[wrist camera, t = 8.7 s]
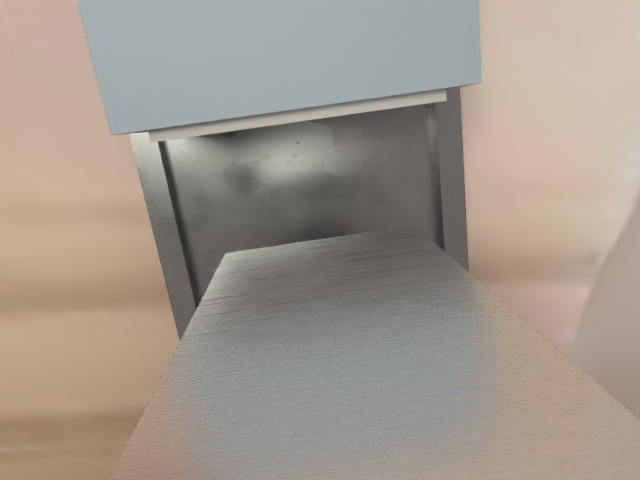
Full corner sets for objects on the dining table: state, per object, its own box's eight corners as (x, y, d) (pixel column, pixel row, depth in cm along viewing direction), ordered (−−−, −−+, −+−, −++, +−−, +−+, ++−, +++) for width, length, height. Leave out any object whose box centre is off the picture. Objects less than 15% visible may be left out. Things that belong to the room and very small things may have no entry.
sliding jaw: (171, 138, 21) (114, 147, 14) (132, -40, 19) (43, -129, 12) (421, 103, 21) (481, 95, 14) (408, -76, 19) (472, -183, 12)
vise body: (219, 461, 28) (189, 602, 20) (99, -43, 20) (-30, -152, 12) (465, 422, 28) (535, 544, 20) (437, -88, 21) (532, -222, 13)
